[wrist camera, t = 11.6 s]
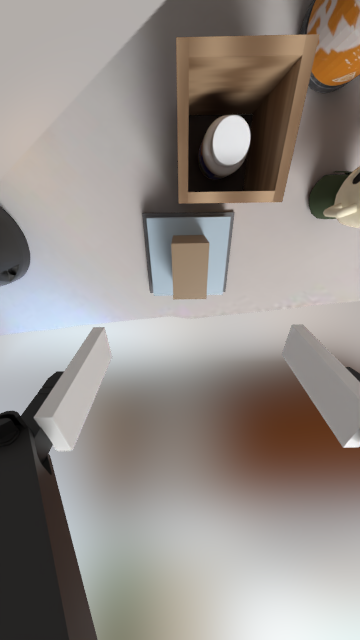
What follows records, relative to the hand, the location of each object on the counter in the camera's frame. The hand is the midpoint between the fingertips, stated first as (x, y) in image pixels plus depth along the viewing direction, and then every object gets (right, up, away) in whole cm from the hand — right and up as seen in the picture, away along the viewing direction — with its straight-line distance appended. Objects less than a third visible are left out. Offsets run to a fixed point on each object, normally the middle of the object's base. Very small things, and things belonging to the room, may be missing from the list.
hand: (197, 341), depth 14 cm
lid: (0, +13, +21) cm, 25 cm away
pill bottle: (+4, +25, +15) cm, 29 cm away
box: (+4, +25, +14) cm, 29 cm away
